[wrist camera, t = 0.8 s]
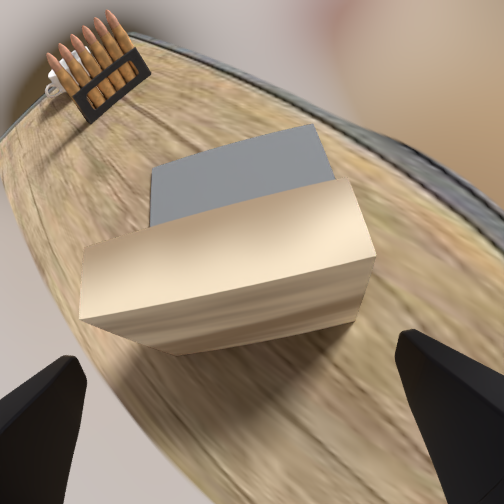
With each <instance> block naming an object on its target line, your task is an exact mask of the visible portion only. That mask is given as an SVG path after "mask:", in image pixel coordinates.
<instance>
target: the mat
mask: <svg viewBox="0 0 504 504" xmlns="http://www.w3.org/2000/svg"><path fill="white" fill-rule="evenodd" d="M330 180H335V177H334V174H333V171H332V169H331V166H330V164H329V161H328V159H327V156H326V154H325V151H324V149H323V146H322V144H321V141H320V139H319V136H318V134H317V132H316V129H315V127H314V125H313V124H309V125H304V126H300V127H295V128H291V129H287V130H282V131H278V132H274V133H270V134H266V135H262V136H258V137H254V138H250V139H246V140H243V141H239V142H235V143H232V144H228V145H225V146H221V147H218V148H214V149H211V150H207V151H204V152H201V153H197V154H194V155H191V156H188V157H185V158H181V159H178V160H175V161H172V162H169V163H166V164H163V165H160V166H157V167H154V168H152V184H151V210H150V227H152V226H155V225H159V224H162V223H166V222H169V221H173V220H176V219H180V218H183V217H187V216H190V215H194V214H198V213H201V212H205V211H209V210H212V209H216V208H220V207H224V206H227V205H231V204H235V203H239V202H243V201H247V200H251V199H255V198H258V197H262V196H267V195H271V194H275V193H279V192H283V191H287V190H291V189H295V188H300V187H304V186H308V185H313V184H317V183H321V182H326V181H330Z"/></svg>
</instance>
